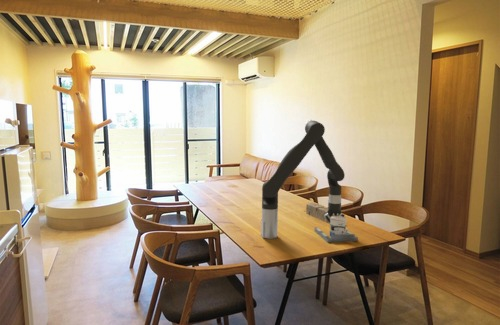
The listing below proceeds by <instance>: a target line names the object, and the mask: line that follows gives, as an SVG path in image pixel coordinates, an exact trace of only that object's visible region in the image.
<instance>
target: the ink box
mask: <svg viewBox="0 0 500 325" xmlns="http://www.w3.org/2000/svg"><path fill="white" fill-rule="evenodd" d="M346 229H347V217H346V216H344V217H341V216H331V217H330V223H329V237H330V236H331V235H341V234H346Z"/></svg>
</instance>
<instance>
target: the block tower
mask: <svg viewBox="0 0 500 325" xmlns="http://www.w3.org/2000/svg"><path fill="white" fill-rule="evenodd" d="M305 206H306V209H305V210H306V211H305V212H306V215H309V216H311V217H313V218H315V219H317V218H318V219H317V220H319V221H322V222H325V223H327V224H330V223H329V222H328V221H327V219H326V218H325V217H324V214H327V211H328V206H327V207H325V205H321V204H319V203H316V202H314V201H313V202H308V203H306V205H305ZM328 216H329V215H328ZM328 218H329V219H330V216H329V217H328Z"/></svg>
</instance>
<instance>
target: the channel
mask: <svg viewBox="0 0 500 325" xmlns="http://www.w3.org/2000/svg"><path fill="white" fill-rule="evenodd" d="M313 230H314V232H315V233H317V235H319V237H321V238H322V239H323V240H324V241H325V242H326V243H346V242H358V240H359V239H358V238H359V237H358V236H357V235H355V233H353V232H351V231H349V230H348V229H347V228H346V234H341V235H331V236H330V235H329V236H328V235H327V234H326V233H325V232H324V231H323V230H322V229H320V228H319V227H317V226H316V227H314V229H313Z"/></svg>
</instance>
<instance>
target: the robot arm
mask: <svg viewBox="0 0 500 325" xmlns="http://www.w3.org/2000/svg"><path fill="white" fill-rule="evenodd" d="M304 130H305V133H306V134H305V135H304V136H303V138H302V139H301V140H300V141H299V143H297V144H296V145H294V146H293V147H292V148H290V149H289V151H288V152H287V153H286V154H285V156H284V157H283V158H282V159H281V162H280V163H279V165H278V167H277V168H276V170H275V173H274V174H273V175H272V176H271V177H270V179H267V180H266V181H264V182H263V184H262V186H261V192H262V194H261V195H262V196H261V199H262V200H261V219H260V220H261V222H260V236H261V238H262V239H269V240H270V239H271V240H273V239H276V238H278V227H279V226H278V221H279V220H278V219H279V218H278V217H279V216H278V215H279V214H278V213H279V211H278V209H279V208H278V207H279V191H280V190H281V188H282V187H283V184H285V182H286V180H287V179H288V178H289V177H290V176H291V175H292V174H293V173H294V172H295V170H296V169H297V168H298V167H299V165H300V164H301V163H302V161H303V160H304V159H305V157H306V156H307V155H308V154H309V152H310V151H311V149H312V148H313V147H315V148H316V151H317V152H318V154H319V156H320V158H321V161H322V162H323V164H324V167H325V168H326V169H328V171H327V173H326V174H327V176H326V178H327V182H328V187H329V189H328V190H329V191H328V199H327V201H328V203H327V205H328V206H327V207H328V211H327V214H324V217H325V218H326V219H327V221H328V222H329V223H328V224H330V219H329V218H328V217H329V216H330V217H331V216H341V217H346V216H345V214H344V213H342V210H341V209H342V186H341V184H339V182H341V181H343V180H345V172H344V169H343V168H342V167H341V165H340V164H339V163H338V161H337V159H336V158H335V156H334V154H333V152H332V150H331V148H330V147H329V145H328V144H327V143H326V141H325V139H324V137H323V136H324V135H325V132H326V131H325V130H326V128H325V126H324V124H323V123H321V122H319V121H316V120H308V122H306V124H305V126H304ZM328 215H329V216H328Z"/></svg>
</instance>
